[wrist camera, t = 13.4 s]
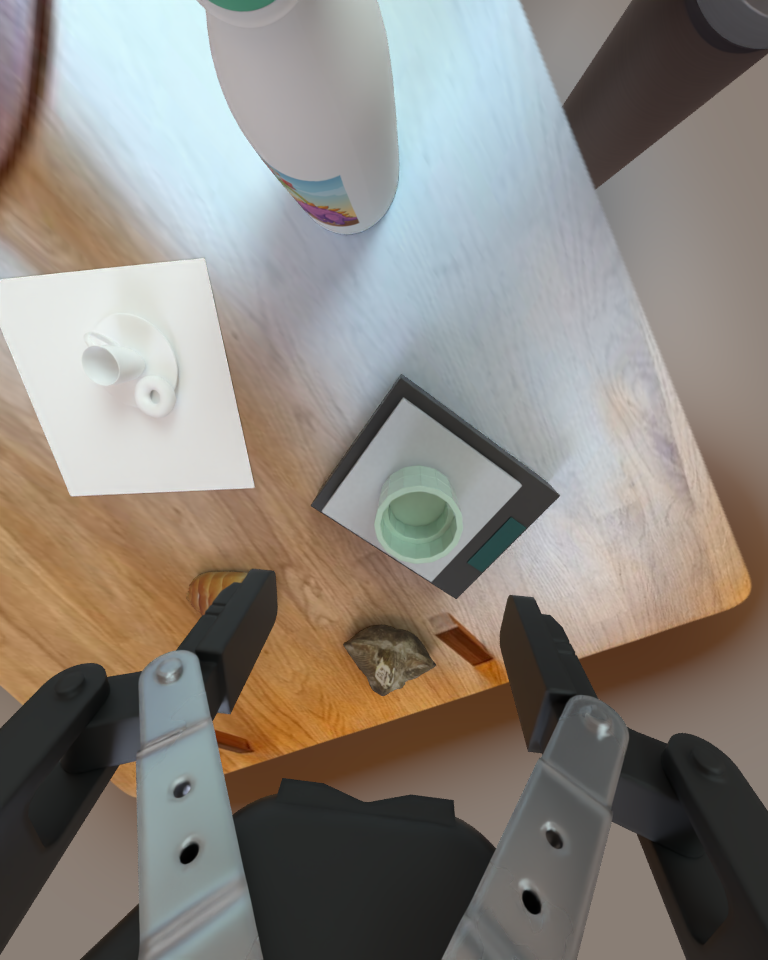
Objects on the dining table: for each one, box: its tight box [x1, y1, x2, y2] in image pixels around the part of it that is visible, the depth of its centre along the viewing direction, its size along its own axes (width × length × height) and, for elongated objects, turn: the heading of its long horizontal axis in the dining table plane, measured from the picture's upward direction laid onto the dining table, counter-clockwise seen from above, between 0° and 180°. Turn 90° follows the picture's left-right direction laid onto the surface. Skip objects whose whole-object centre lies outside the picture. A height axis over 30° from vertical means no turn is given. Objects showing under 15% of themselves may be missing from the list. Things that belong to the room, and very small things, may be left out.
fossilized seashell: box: [343, 625, 436, 696], centre depth 40 cm, size 8×7×10 cm
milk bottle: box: [197, 0, 399, 234], centre depth 18 cm, size 8×8×20 cm
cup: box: [374, 465, 463, 564], centre depth 29 cm, size 6×6×5 cm
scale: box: [311, 374, 560, 599], centre depth 33 cm, size 14×17×5 cm
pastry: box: [187, 571, 248, 615], centre depth 40 cm, size 9×7×4 cm
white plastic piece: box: [80, 312, 179, 419], centre depth 31 cm, size 9×8×4 cm
